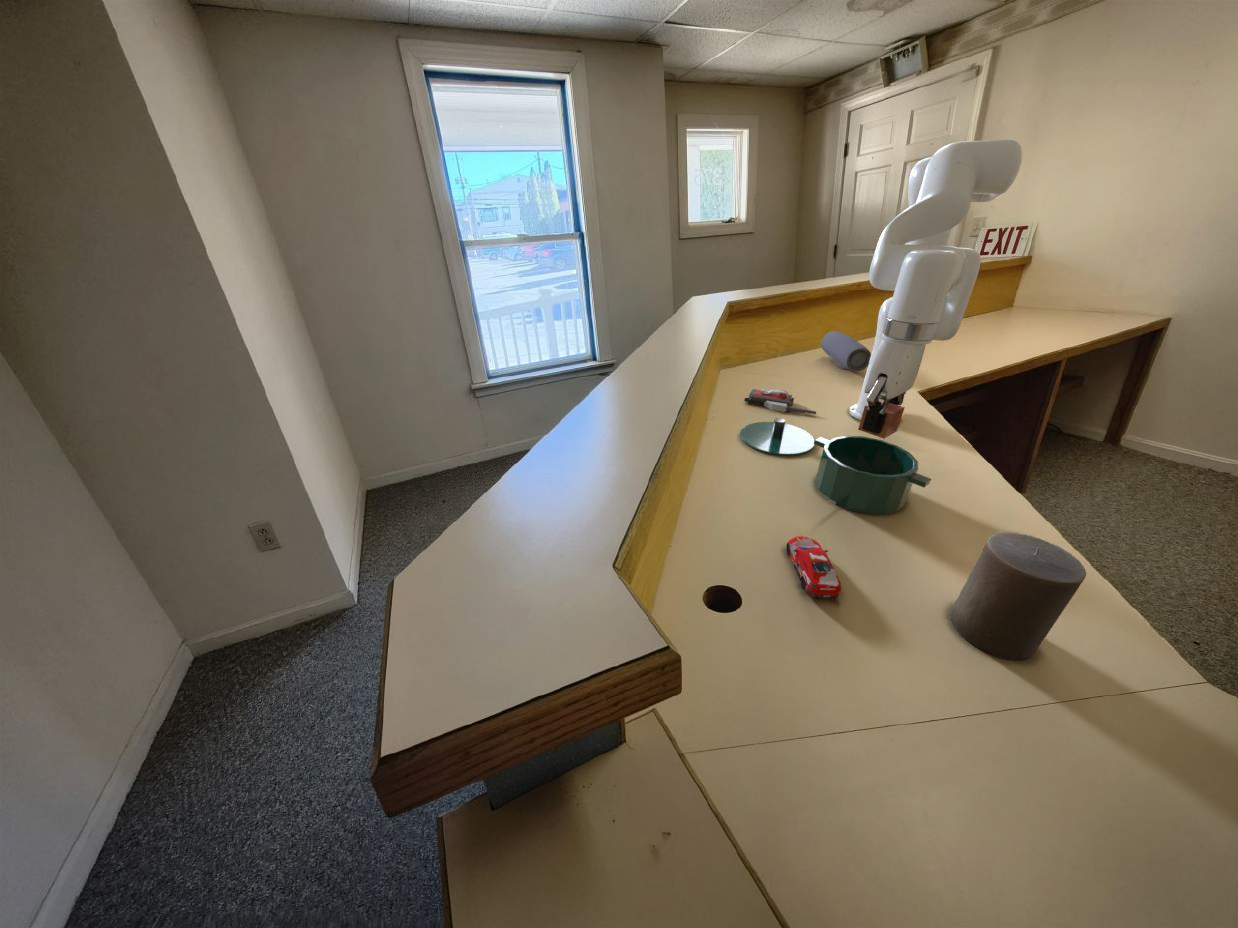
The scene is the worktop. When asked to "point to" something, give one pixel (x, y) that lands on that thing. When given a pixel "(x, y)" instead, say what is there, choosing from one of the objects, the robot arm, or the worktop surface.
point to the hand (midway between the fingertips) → (878, 426)
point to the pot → (866, 474)
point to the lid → (777, 438)
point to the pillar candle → (1015, 594)
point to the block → (886, 420)
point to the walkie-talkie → (774, 400)
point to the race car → (813, 568)
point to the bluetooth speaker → (846, 351)
